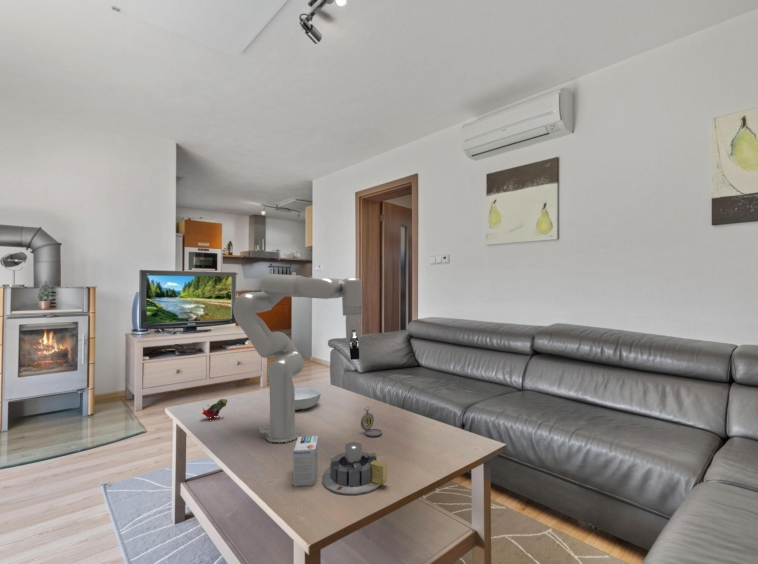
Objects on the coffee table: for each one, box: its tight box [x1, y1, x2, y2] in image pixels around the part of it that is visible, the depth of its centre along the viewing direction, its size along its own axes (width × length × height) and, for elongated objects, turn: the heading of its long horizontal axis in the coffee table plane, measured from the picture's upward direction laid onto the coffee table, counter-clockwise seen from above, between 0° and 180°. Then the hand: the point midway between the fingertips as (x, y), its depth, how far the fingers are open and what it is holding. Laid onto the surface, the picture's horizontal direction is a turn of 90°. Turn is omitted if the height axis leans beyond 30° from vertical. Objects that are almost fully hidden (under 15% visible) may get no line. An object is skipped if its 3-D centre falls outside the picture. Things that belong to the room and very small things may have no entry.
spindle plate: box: [321, 441, 383, 496], centre depth 118 cm, size 19×19×10 cm
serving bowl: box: [294, 387, 322, 411], centre depth 189 cm, size 21×21×7 cm
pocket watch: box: [360, 406, 383, 437], centre depth 154 cm, size 8×8×10 cm
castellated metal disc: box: [329, 451, 388, 486], centre depth 118 cm, size 17×14×5 cm
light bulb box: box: [292, 435, 319, 487], centre depth 119 cm, size 11×7×11 cm, turn 5°
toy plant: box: [202, 398, 228, 419], centre depth 171 cm, size 8×10×12 cm
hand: (354, 357), depth 143 cm, fingers open, 9 cm apart
